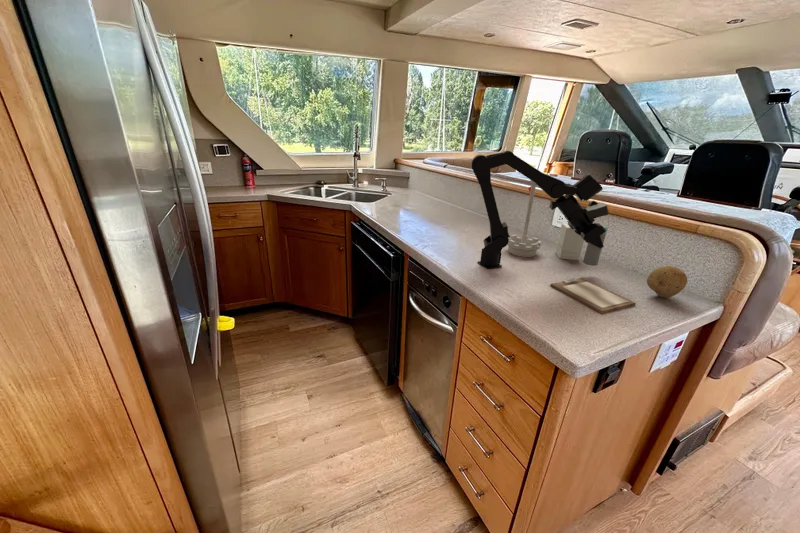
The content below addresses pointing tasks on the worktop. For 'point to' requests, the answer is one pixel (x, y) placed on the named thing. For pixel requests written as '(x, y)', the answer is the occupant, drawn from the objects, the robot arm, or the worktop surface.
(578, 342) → the worktop surface
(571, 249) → the supplement box
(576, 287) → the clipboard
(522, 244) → the flag stand
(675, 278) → the brown potato
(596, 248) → the green-topped grey cylinder
